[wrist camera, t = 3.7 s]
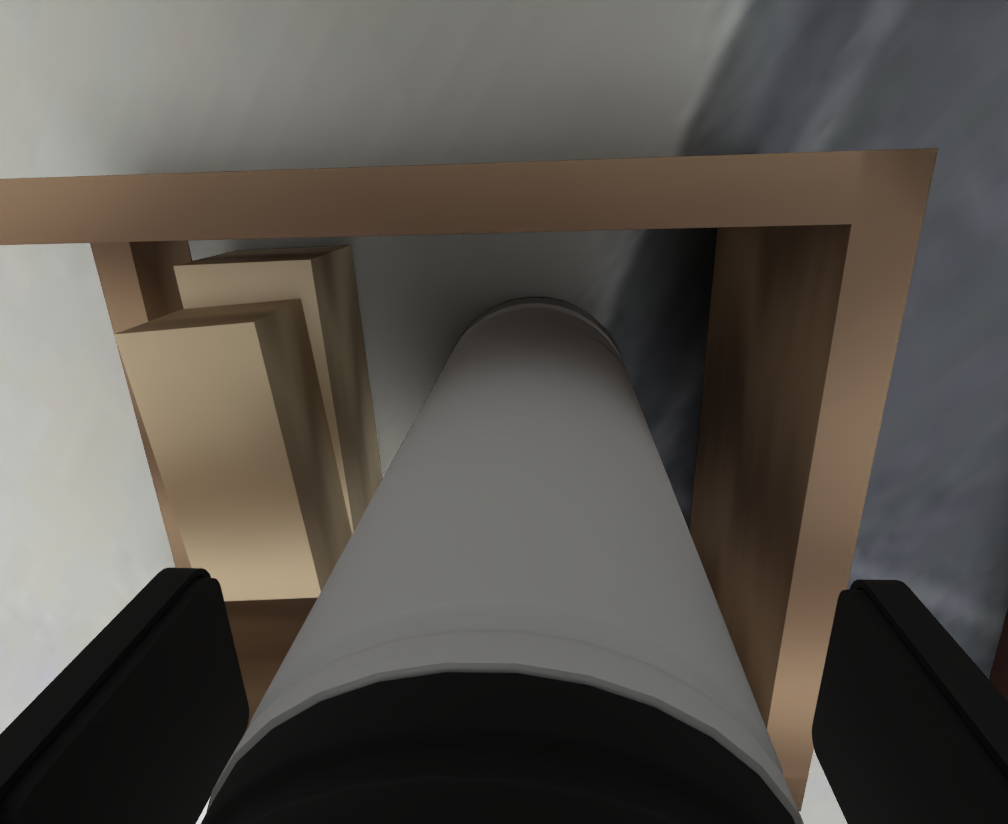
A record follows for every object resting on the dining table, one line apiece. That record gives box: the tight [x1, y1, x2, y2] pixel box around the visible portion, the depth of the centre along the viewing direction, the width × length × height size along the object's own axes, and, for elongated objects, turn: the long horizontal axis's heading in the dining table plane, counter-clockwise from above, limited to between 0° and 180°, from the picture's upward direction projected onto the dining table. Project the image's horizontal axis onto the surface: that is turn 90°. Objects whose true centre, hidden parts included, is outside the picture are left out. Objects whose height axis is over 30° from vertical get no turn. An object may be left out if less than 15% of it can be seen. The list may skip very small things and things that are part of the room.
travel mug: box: [201, 298, 804, 824], centre depth 12 cm, size 6×7×20 cm
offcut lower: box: [173, 245, 382, 534], centre depth 21 cm, size 10×4×4 cm, turn 3°
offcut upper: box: [114, 299, 352, 601], centre depth 18 cm, size 8×4×3 cm, turn 6°
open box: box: [0, 148, 938, 811], centre depth 18 cm, size 16×20×9 cm
